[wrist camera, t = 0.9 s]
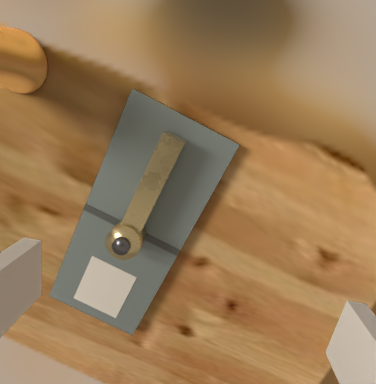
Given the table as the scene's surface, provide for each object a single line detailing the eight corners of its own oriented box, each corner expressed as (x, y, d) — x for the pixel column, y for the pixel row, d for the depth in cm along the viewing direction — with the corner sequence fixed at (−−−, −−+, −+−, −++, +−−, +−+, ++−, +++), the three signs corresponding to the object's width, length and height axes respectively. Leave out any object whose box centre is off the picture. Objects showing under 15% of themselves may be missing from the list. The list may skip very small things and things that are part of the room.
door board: (54, 290, 35) (48, 296, 34) (135, 89, 27) (131, 88, 26) (135, 328, 36) (132, 336, 35) (238, 143, 28) (239, 145, 26)
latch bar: (110, 237, 30) (97, 253, 27) (160, 127, 26) (153, 129, 23) (139, 251, 31) (129, 268, 27) (193, 144, 26) (190, 148, 23)
